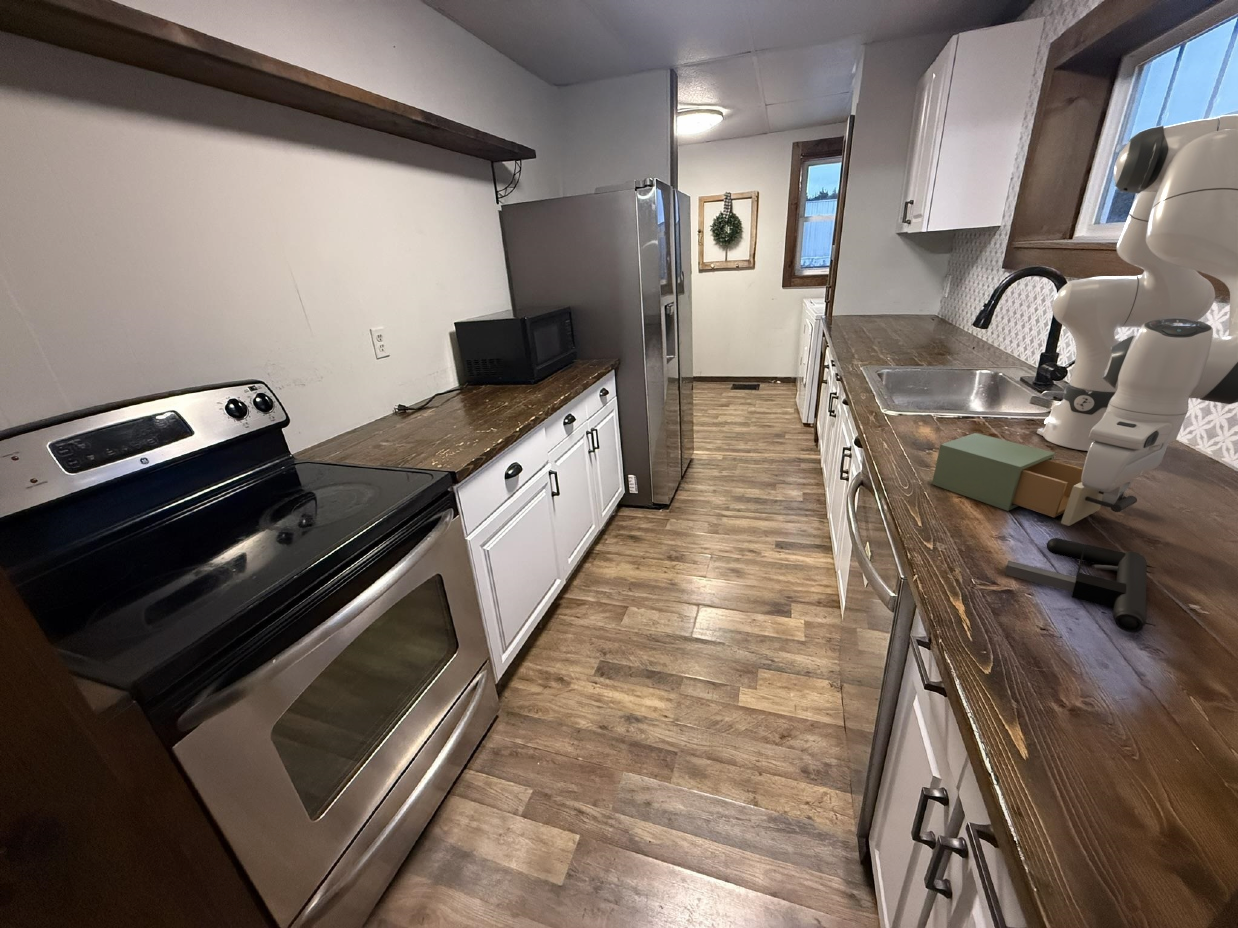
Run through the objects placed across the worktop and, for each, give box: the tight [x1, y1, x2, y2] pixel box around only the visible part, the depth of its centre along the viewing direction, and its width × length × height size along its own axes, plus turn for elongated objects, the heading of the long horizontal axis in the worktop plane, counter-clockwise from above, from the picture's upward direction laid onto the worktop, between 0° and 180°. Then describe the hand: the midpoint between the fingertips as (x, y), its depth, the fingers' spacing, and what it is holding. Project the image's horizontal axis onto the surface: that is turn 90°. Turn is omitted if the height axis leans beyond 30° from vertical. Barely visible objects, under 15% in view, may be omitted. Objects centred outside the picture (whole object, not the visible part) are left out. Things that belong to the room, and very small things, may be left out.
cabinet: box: [931, 432, 1056, 512], centre depth 101 cm, size 15×13×9 cm
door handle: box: [1004, 537, 1157, 633], centre depth 73 cm, size 3×20×16 cm
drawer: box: [1012, 459, 1138, 527], centre depth 91 cm, size 18×11×7 cm, turn 28°
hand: (1111, 501), depth 85 cm, fingers closed
